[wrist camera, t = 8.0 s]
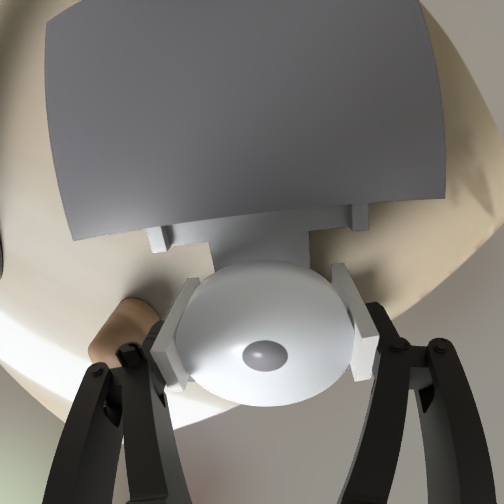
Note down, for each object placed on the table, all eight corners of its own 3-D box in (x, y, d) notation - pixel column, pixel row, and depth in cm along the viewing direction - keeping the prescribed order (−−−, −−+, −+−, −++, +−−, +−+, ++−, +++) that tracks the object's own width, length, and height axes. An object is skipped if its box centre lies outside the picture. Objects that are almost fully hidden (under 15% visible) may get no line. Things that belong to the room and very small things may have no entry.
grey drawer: (196, 344, 24) (183, 384, 19) (154, 193, 18) (122, 213, 14) (353, 330, 22) (367, 370, 18) (356, 168, 17) (385, 181, 13)
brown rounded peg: (127, 336, 24) (102, 379, 19) (111, 298, 23) (79, 339, 17) (166, 336, 24) (146, 384, 19) (151, 296, 22) (123, 342, 17)
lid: (165, 267, 12) (152, 286, 10) (350, 249, 11) (361, 267, 10) (205, 385, 15) (200, 406, 14) (341, 376, 14) (346, 398, 13)
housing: (123, 210, 19) (74, 243, 13) (99, 41, 14) (46, 22, 8) (396, 178, 17) (447, 201, 11) (368, -1, 12) (402, -40, 6)
